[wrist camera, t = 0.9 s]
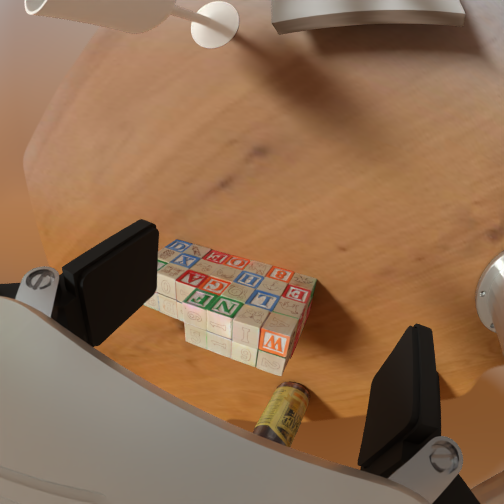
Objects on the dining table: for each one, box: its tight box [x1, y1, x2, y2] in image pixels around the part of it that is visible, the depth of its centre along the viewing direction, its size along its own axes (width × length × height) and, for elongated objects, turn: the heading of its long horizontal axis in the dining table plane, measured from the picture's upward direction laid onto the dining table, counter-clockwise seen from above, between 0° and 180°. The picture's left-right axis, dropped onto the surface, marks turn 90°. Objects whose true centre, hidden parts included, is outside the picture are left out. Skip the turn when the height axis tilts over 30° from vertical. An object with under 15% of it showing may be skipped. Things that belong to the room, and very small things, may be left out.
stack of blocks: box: [143, 239, 317, 376], centre depth 40 cm, size 21×6×12 cm, turn 85°
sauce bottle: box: [253, 382, 310, 447], centre depth 42 cm, size 7×6×20 cm
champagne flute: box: [25, 0, 239, 48], centre depth 21 cm, size 7×7×24 cm
